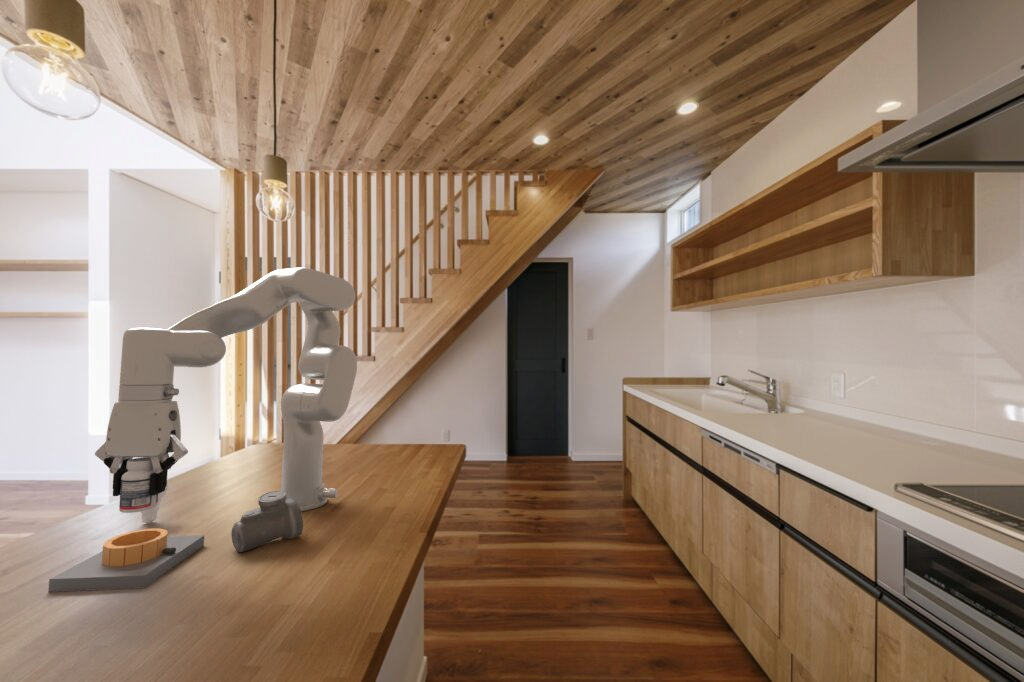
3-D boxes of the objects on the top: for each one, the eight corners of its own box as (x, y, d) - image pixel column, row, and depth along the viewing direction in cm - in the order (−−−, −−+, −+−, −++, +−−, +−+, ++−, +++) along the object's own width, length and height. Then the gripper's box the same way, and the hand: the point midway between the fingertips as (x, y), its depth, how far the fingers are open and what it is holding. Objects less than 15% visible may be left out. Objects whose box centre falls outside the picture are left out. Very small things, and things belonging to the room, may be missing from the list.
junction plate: (203, 545, 84) (205, 520, 84) (143, 587, 68) (145, 556, 69) (127, 547, 83) (129, 522, 83) (48, 591, 67) (50, 560, 67)
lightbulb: (145, 529, 91) (148, 479, 92) (123, 527, 92) (126, 477, 93) (173, 519, 97) (176, 472, 98) (152, 517, 98) (155, 470, 99)
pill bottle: (135, 503, 78) (138, 456, 79) (164, 503, 79) (167, 456, 79) (110, 513, 73) (114, 462, 74) (142, 513, 74) (145, 462, 74)
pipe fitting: (292, 526, 93) (290, 482, 92) (306, 540, 88) (303, 494, 87) (229, 549, 85) (226, 501, 84) (240, 566, 79) (237, 515, 78)
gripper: (208, 393, 82) (202, 486, 81) (112, 392, 80) (105, 488, 79) (182, 396, 74) (176, 499, 73) (76, 395, 72) (68, 501, 71)
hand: (139, 492), depth 76 cm, fingers closed on pill bottle, 5 cm apart
